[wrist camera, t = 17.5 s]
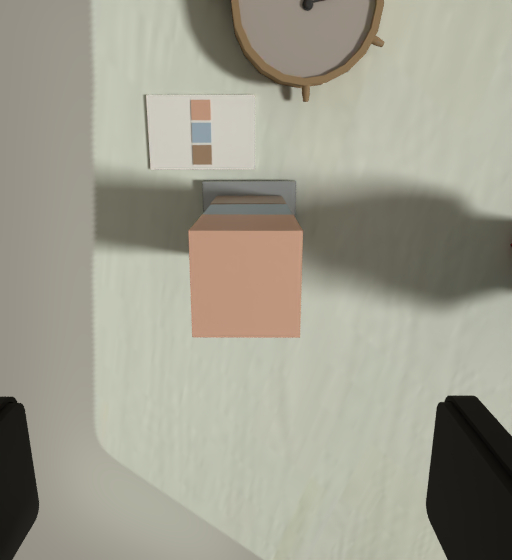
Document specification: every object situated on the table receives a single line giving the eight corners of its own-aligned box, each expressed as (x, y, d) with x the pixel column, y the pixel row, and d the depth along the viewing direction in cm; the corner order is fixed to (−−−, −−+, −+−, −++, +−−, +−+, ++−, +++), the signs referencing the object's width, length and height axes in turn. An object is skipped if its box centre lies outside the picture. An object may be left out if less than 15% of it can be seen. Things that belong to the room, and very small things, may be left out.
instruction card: (255, 169, 40) (255, 169, 40) (151, 169, 40) (150, 169, 40) (255, 94, 39) (254, 94, 38) (146, 95, 39) (145, 94, 38)
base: (293, 269, 43) (300, 291, 36) (206, 269, 43) (197, 291, 36) (295, 180, 41) (302, 186, 34) (203, 181, 40) (193, 186, 34)
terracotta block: (291, 301, 30) (299, 337, 24) (204, 301, 30) (192, 337, 24) (293, 214, 29) (303, 230, 23) (201, 214, 28) (188, 230, 23)
